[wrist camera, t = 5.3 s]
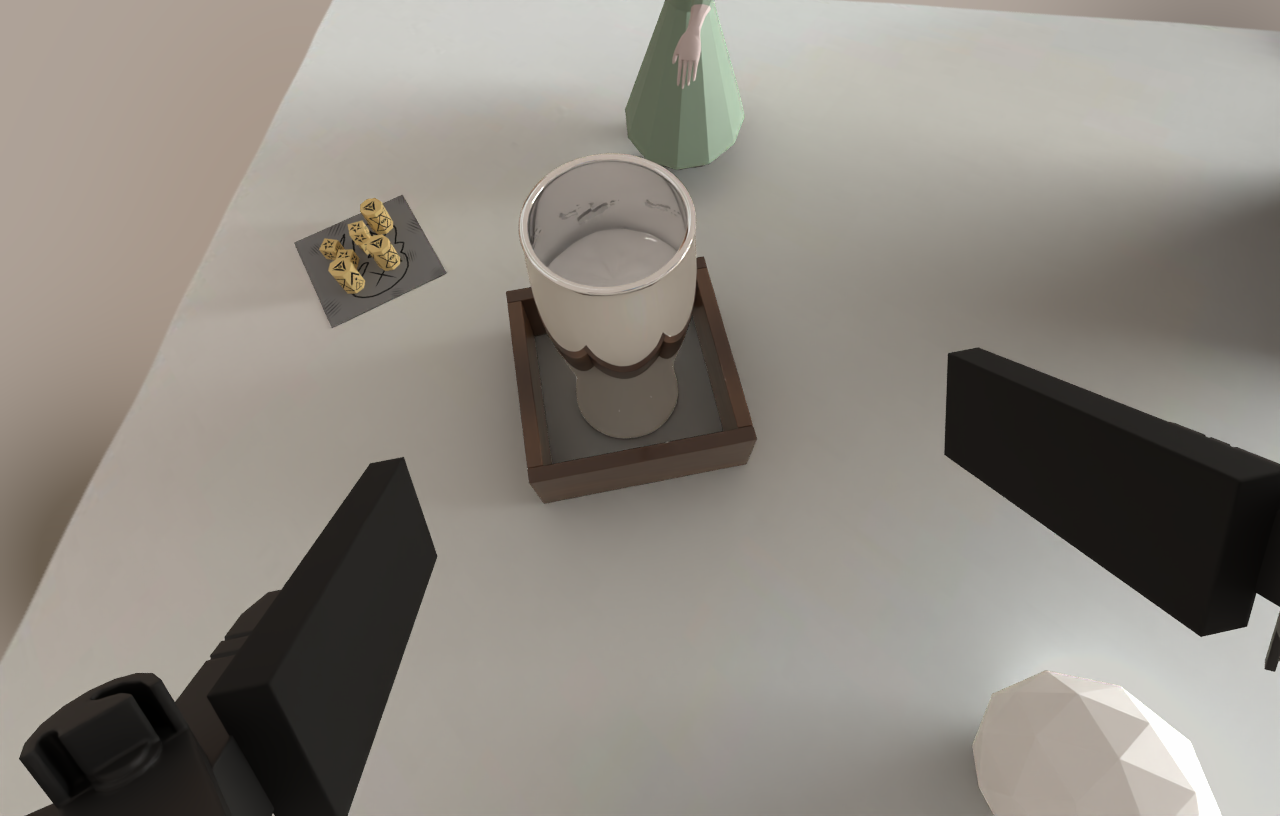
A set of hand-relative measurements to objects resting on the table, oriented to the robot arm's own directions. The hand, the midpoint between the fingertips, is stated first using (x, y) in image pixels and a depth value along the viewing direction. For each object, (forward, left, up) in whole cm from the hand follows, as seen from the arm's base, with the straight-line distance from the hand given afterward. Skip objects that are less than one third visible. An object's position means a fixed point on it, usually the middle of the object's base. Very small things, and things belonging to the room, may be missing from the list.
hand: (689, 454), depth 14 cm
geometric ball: (+3, +18, -19) cm, 26 cm away
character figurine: (-30, -9, -19) cm, 36 cm away
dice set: (-13, -26, -19) cm, 34 cm away
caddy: (-9, -6, -19) cm, 21 cm away
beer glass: (-9, -6, -19) cm, 22 cm away
